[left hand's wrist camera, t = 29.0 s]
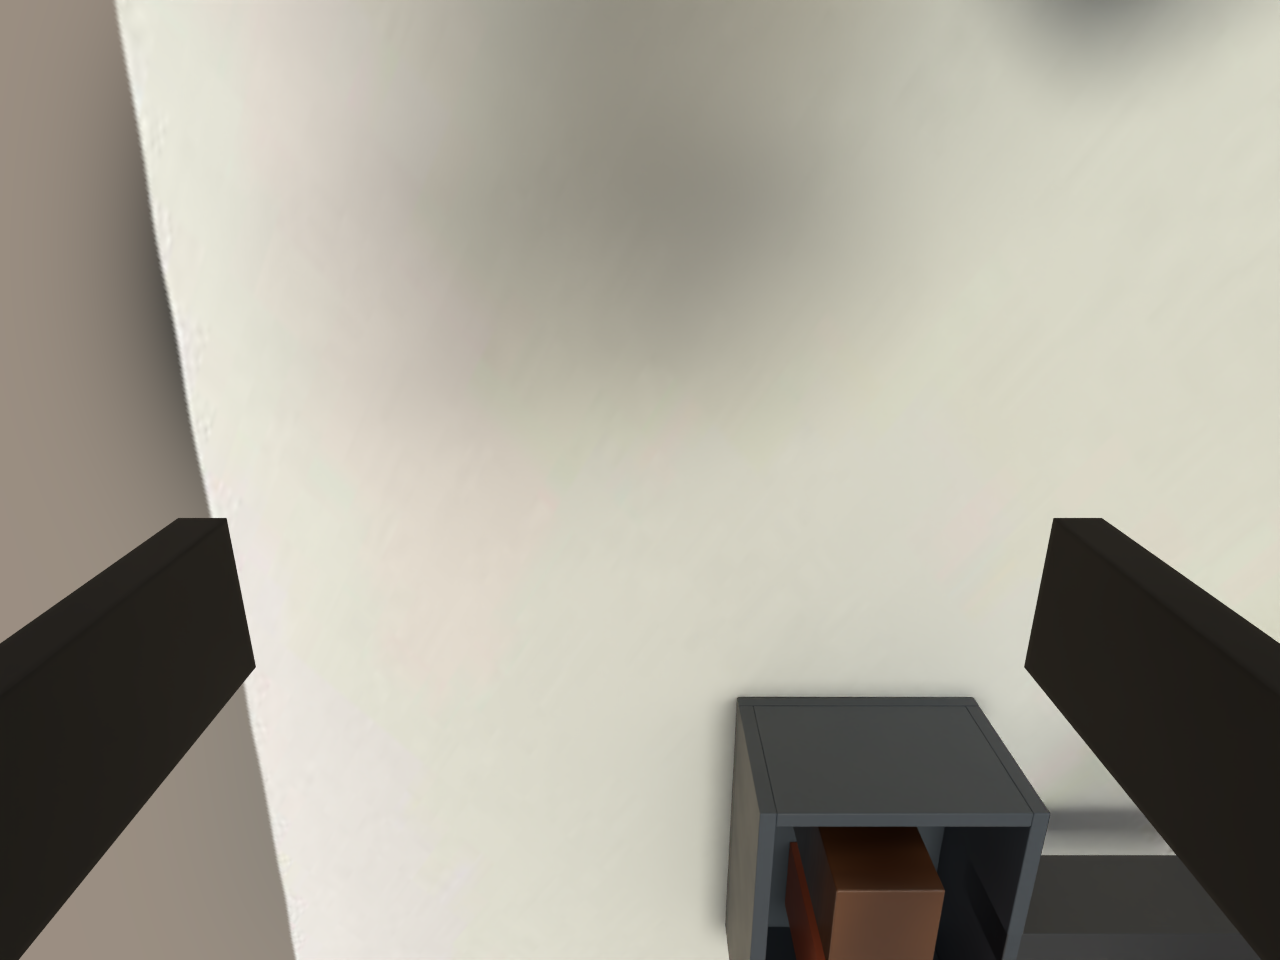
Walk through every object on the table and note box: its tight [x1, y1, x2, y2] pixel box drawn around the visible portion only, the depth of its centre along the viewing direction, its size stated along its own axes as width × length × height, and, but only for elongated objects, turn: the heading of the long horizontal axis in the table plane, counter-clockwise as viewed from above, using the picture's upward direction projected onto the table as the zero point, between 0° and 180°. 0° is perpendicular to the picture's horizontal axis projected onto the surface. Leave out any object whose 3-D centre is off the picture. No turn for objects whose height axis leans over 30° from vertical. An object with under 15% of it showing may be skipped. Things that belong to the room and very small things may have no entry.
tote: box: [725, 698, 1261, 960], centre depth 44 cm, size 27×18×9 cm, turn 90°
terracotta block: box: [785, 842, 825, 960], centre depth 44 cm, size 5×5×10 cm
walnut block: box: [793, 827, 945, 960], centre depth 41 cm, size 5×5×10 cm
